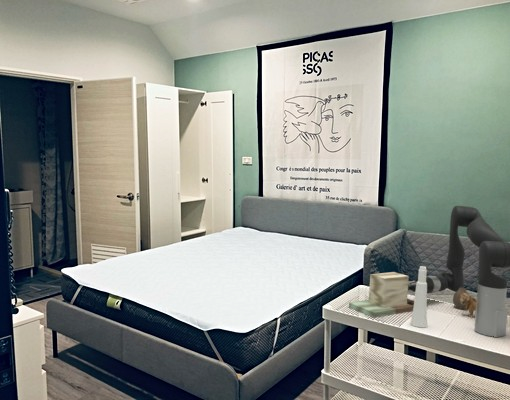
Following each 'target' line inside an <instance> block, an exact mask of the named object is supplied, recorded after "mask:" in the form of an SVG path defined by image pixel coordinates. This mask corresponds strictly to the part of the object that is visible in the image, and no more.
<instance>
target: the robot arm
mask: <svg viewBox="0 0 510 400" xmlns="http://www.w3.org/2000/svg"><path fill="white" fill-rule="evenodd" d="M449 220H450V222H449V238H448V239H449V243H448V251H447V257H446V261H445V267H446V268H447V270H449V271H450V272H451V273H450V272H445V271H444V272H441V273H439V274H438V275H426V283H427V295H428V294H434V293H437V292H443V291H445V290H447V289H448V290H450V291H452V292H454V293H456V292H457V291H458V290H459V288H464V285H465V284H464V283H465V280H464V278H465V277H464V271H463V269H464V268H463V267H464V262H465V257H466V256H465V255H466V254H465V253H466V252H465V248H464V246H463V244H462V241H461V239H460V237H459V227H463V228H466V235H467V237H468V239H469V240H470V241H471V243H472V244H473V245H475V247H478V248H479V249H478V271H477V272H478V273H477V277H478V278H477V279H478V280H477V292H476V301H477V302H476V311H475V318H474V331H475V332H476V333H478V334H480V335H484V336H488V337H493V336H494V338H499V337H503V336H504V337H505V336H506V334H507V325H508V324H507V323H508V322H507V321H508V314H509V313H508V312H509V311H508V308H506V305H507V304H506V302H507V301H506V300H507V292H508V291H507V290H508V281H507V279H506V278H504V277H501V276H499V275H497V274H496V273H494V272H493V271H492V268H501V269H502V268H503V269H504V268H506V269H507V268H510V242H508V241H507V240H506V239H504V238H503V237H501V236H500V235H499V234H498V233H497V232H496V231H495V230H494V229H493V227H492V226H490V224H489V223H488V222H487V221H486V220H485V219H484V218H483V215H482V214H481V213H480V211H479V209H477V208H476V207H473V206H464V205H455V206H453V208H452V210H451V214H450V219H449ZM417 281H418V277H416V278H415V280H412V281H408V292H410V291H411V292H414V293H415V291H416V284H417Z"/></svg>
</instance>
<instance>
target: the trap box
mask: <svg viewBox="0 0 510 400" xmlns="http://www.w3.org/2000/svg"><path fill="white" fill-rule="evenodd" d="M413 307H414V299H410V298H407V305H400V306H394V307H387V308H381V307H379V306H376V305H373V304H371V303H369V299H366V300H360V301H359V300H358V301H352V302H351V301H350V302H348V308H350V309H351V310H354V311H357V312H359V313H361V314H364V315H367V316H369V317H372V318H378V317H380V318H381V317H385V316H393V315H398V314H399V315H400V314H404V313H410V312H413Z"/></svg>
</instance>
